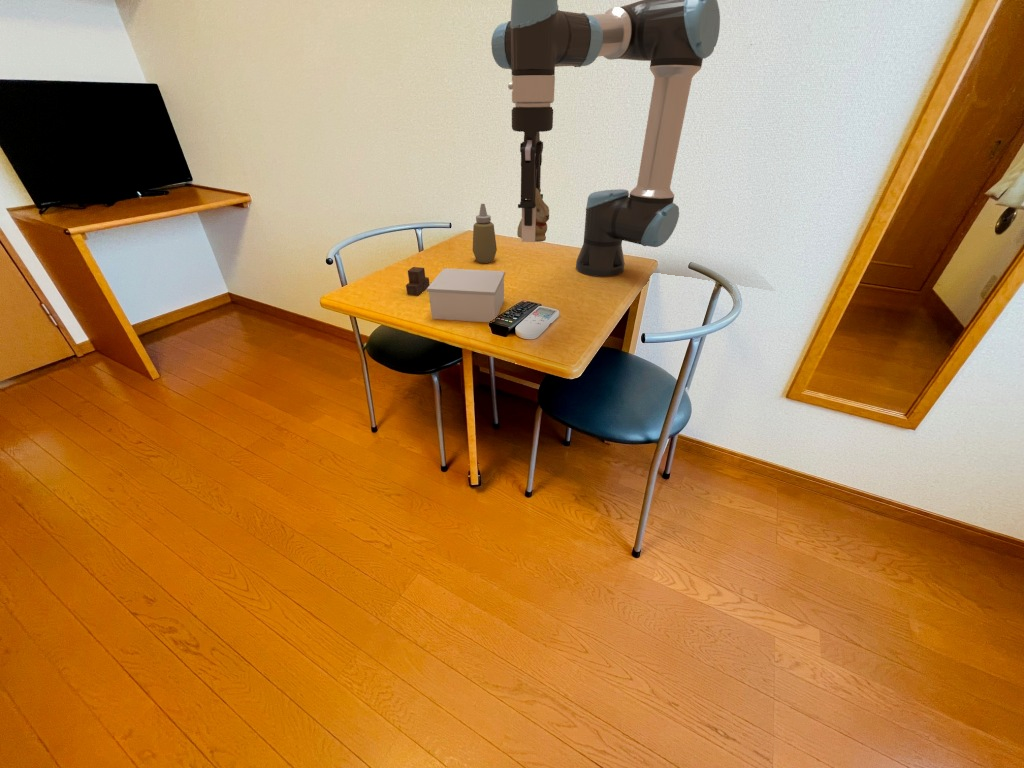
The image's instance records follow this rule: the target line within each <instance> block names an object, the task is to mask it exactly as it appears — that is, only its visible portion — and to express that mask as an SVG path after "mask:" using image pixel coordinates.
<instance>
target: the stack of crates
mask: <svg viewBox="0 0 1024 768" xmlns="http://www.w3.org/2000/svg"><path fill="white" fill-rule="evenodd" d="M407 276H408V283H407V284H405V287H406V294H408V296H417V297H418V296H420V295H421V294H423V293H424V292H425V291H427V288H428V287H429V285H430V284H431V283H430V278H429V277H427V276H426V273H425V267H416V266H413V267H411V268H409V269H408V270H407ZM422 292H423V293H422Z"/></svg>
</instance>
